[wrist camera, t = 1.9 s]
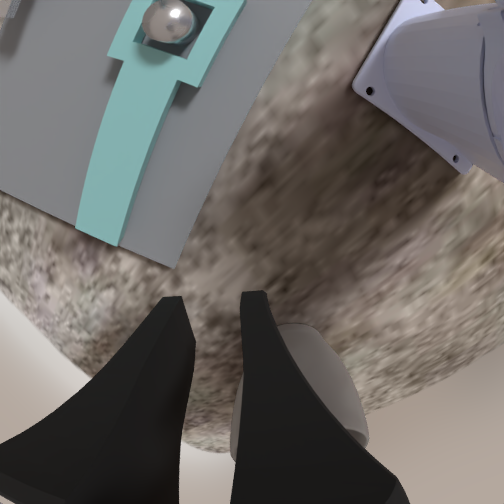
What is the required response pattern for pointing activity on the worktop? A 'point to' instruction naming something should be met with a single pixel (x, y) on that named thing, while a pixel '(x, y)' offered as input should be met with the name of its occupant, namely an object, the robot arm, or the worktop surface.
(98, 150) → the link
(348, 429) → the mug
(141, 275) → the worktop surface
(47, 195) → the board
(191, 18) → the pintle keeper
